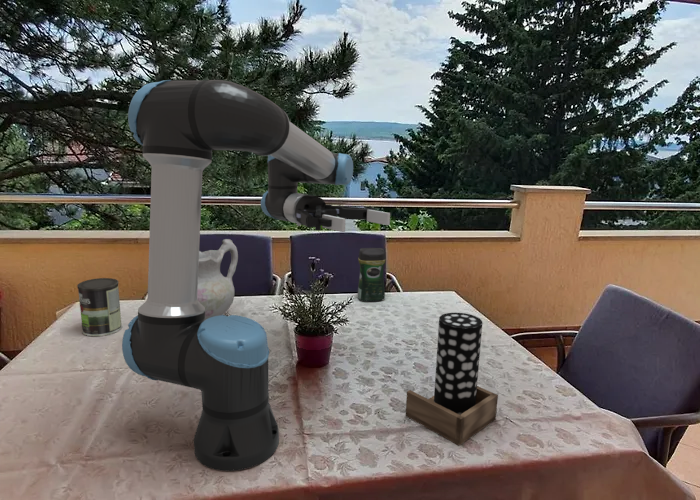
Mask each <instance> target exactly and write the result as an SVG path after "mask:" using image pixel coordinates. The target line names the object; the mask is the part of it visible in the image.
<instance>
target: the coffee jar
mask: <svg viewBox="0 0 700 500" xmlns="http://www.w3.org/2000/svg"><path fill="white" fill-rule="evenodd" d="M357 259H358V264H359V278H358V285H357V298H358V300H360V301H362V302H381V301H383V300H385V298H386V297H385V293H386V290H385V282H384V279H385V278H384V268H385V267H384V266H385V264H386V251H385V250H384V248H383V247H361V248H360V249H359V252H358V258H357Z"/></svg>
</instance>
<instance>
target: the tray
mask: <svg viewBox="0 0 700 500" xmlns="http://www.w3.org/2000/svg"><path fill="white" fill-rule="evenodd" d="M498 399H499V394H496V393H494V392H493V391H490V390H487V389H485V388H483V387H481V386H478V385H477V392H476V403H475V406H473V407H471V408H470V409H468V410H467V411H465V412H464V413H462V414H461V415H459V414H457V413H455V412H453V411H451V410H449V409H447V408H445V407H443V406H441V405H439V404H437V403H435V402H434V395H432V396H431V397H428V398H427V397H426V396H424V395H421V394H419V393H417V392H415V391H413V390H411V389H410V390H407V391H406V401H405V417H407V418H409V419H411V420H412V421H414V422H416V423H418V424H419V425H422V426H423V427H425V428H427V429H428V430H430V431H432V432H434V433H435V434H437V435H439V436H440V437H442V438H444V439H446V440H448V441H450V442H452V443H453V444H455V445H456V446H460V445H462V444H464V443H466V441H468V440H469V439H471V438H472V437H473V436H475V435H476V434H478V433H479V432H480V431H482V430H483V429H484V428H486V427H487V426H488V425H490V424H491V423H493V422H494V421H495V420H496V418H497V410H498Z"/></svg>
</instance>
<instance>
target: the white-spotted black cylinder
mask: <svg viewBox="0 0 700 500" xmlns="http://www.w3.org/2000/svg"><path fill="white" fill-rule="evenodd" d="M482 332H483V320H482V319H481V318H480V317H478V316H476V315H474V314H470V313H463V312H447V313H443V314H441V315H440V316H439V318H438V331H437V347H436V361H435V377H434V378H435V379H434V393H433V396H434V402H435V403H437V404H439V405H441V406H443V407H445V408H447V409H449V410H451V411H453V412H455V413H457V414H459V415H461V414H462V413H464V412H465V411H467V410H468V409H470V408H471V407H473V406H475V403H476V392H477V386H478V379H479V378H478V377H479V366H480V356H481V355H480V354H481V346H482V343H481V342H482V335H483V334H482Z"/></svg>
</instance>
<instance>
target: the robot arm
mask: <svg viewBox="0 0 700 500" xmlns="http://www.w3.org/2000/svg"><path fill="white" fill-rule="evenodd" d="M127 113H128V114H127V120H128V127H129V130H130V132H131V133H132V134H133V135H132V137H133V138H134V140H135V141H136V142H137V143H138V144H139V145H140V146H142V157H143V158H144V159H145V160H146V161H147V162H148V163H149V165H150V167H151V174H150V175H151V176H150V177H151V179H150V181H151V182H150V187H151V188H150V207H149V208H150V211H149V216H150V217H149V241H148V242H149V243H148V248H149V249H148V272H147V274H148V276H147V299H146V301H144V302H143V303H142V304H141V305H140V306H139V307H138V309H137V315H136V316H135V317H133V318H132V319H131V320H130V322H129V323H128V324H127V326H128V328H127V329H125V330H124V333H123V337H122V340H121V341H122V342H121V347H122V348H121V351H122V354H123V355H122V356H123V359H124V362H125V363H126V365H127V367H128V368H129V369H130V370H131V371H132V372H133V373H135V374H137V375H139V376H142V377H146V378H147V379H149V380H153V381H157V382H158V381H160V382H163V383H164V382H165V383H169V384H174V385H177V386H183V387H187V388H191V389H196V390H199V391H201V405H202V407H201V408H202V411H201V414H200V416H199V420H198V423H197V426H196V430H195V432H194V436H193V448H194V449H193V450H194V455H195V459H196V460H197V461H198V462H199V463H201V464H202V465H203V466H204V467H207V468H209V469H211V470H215V471H222V472H225V471H226V472H234V471H242V470H246V469H251V468H252V467H256V466H258V465H260V464H262V463H264V462H265V461H267V460H268V459H269V458H270V457H271V456H272V455H274V453H275V452H276V450H277V449H278V446H279V444H280V443H279V442H280V432H279V431H280V430H279V424H278V422H277V420H276V417H275V414H274V413H273V412H274V411H273V409H272V407H271V405H270V401H269V399H270V396H269V392H270V391H269V389H270V387H269V385H270V384H269V382H270V381H269V356H270V349H269V345H268V335H267V332H266V330H265V328H264V327H263V325H262V324H261V323H259V322H257V321H255V320H254V319H252V318H249V317H247V316H243V315H237V314H230V315H225V314H223V315H219V316H214V317H211V318H208V319H206V320H205V307H204V306H203V305H202V304H201V303H200V302H199V301H198V299H197V291H198V267H199V251H200V240H201V237H200V236H201V217H202V216H201V215H202V194H203V193H202V191H203V171H204V170H205V169H206V168H207V167H208V166H209V165H210V164H211V163H212V160H213V159H212V158H213V156H212V155H213V151H241V152H249V153H253V154H255V155H258V156H262V157H267V162H266V163H267V175H268V176H267V177H268V179H267V180H268V185H267V186H268V187H267V190H266V191H265V192H264V193H263V194H262V197H261V200H260V208H261V210H262V213H264V215H266V216H267V217H269V218H272V219H274V220H278V221H284V222H290V223H294V224H296V225H297V226H298V227H300V226H301V225H303V226H304V227H306V228H309V229H311V228H314V230H315V231H322V228H323V229H327V230H332V231H337V232H341V233H344V232H346V220H356V221H357V220H358V221H367V222H369V223H374V224H379V225H384V226H390V223H391V212H385V211H381V210H376V209H375V208H373V206H371V205H369V206H368V207H358V206H357V207H356V206H348V205H347V206H346V205H340V204H338V205H332V204H328V203H327V204H326V201H325V200H324V198H321V197H320V196H317V195H312V194H307V193H301V192H300V193H298V187H299V185H298V184H299V183H303V184H305V183H306V184H321V185H334V186H341V185H343V186H347V185H348V184H349V183H351V181H352V179H353V174H354V162H353V159H352V156H351V155H349V154H347V153H341V152H338V153H334V152H333V151H330V149H328V148H326V147H325V146H324V145H322V144H321V143H319V141H317V140H316V139H314V138H313V137H312V136H310V135H309V134H307V133H306V132H305V131H303V130H302V129H300V127H298V126H297V125H295V124H294V123H292V122H291V121H290V119H289V116H288V114H287V113H286V111H285V110H284V109H283V108H281V106H278V104H276V103H274V101H272V100H270V99H269V98H267V97H265V95H262V94H261V93H258V92H256V91H254V90H253V89H250V88H248V87H246V86H243V85H242V84H238V83H235V82H233V81H228V80H224V79H223V80H222V79H209V80H208V79H207V80H206V79H205V80H203V79H202V80H198V79H197V80H196V79H195V80H193V79H192V80H191V79H189V80H187V79H186V80H183V79H182V80H180V79H179V80H174V79H173V80H171V79H167V80H160V81H155V82H148V83H147V84H145V85H143V86H141V88H140V89H138V90H137V91H136V92H135V94H134V95H133V97H132V98H131V101H130V104H129V106H128V111H127Z"/></svg>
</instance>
